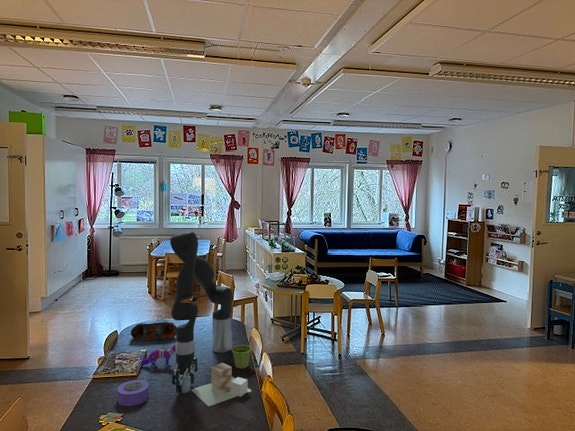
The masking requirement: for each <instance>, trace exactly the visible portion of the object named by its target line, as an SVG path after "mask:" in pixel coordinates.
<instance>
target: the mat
mask: <svg viewBox="0 0 575 431" xmlns="http://www.w3.org/2000/svg"><path fill="white" fill-rule="evenodd" d="M234 379H236V378H235V377H234V375H233V376H232V379H231V381H233V380H234ZM190 391H191V392H193V393H194V394H195V395H196V396H197V397H198V398H199V399H200V400H201V401H202V402H203V403H205V405H206V406H208V407H211V406H214V405H217V404H220V403H222V402H226V401H229V400H230V399H233V398H236V397H238V396H237V395H233V394H231V391H230V392H227V393H224V394H221V395H217V394H216V393H215V392H214V391H213V390H212V382H210V383H207V384H205V385H200V386H198V387H195V388H191V390H190ZM250 392H252V389H250V388H248V391H247V392H246V393H245V394H247V393H250Z"/></svg>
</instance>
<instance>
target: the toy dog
mask: <svg viewBox="0 0 575 431" xmlns="http://www.w3.org/2000/svg"><path fill="white" fill-rule="evenodd" d="M175 353H176V343H174V344H173V346H172V347H170V348H169V349H168V348H167V349H155V350H153V351H152V352H150V354H149V355H148V357H146V358H145V359H142V360H141V362H140V363H141V365H146V366H147V365H148V364H150V363H151V365H153V366H154V368H158V366H157V365H156V362H157V360H159V358H160V359H165V364H166V365H167V367H169V368H170V367H171V365H169V364H170V363H169V361H170V359H171V357H172V356H173V354H175Z"/></svg>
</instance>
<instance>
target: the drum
mask: <svg viewBox="0 0 575 431" xmlns="http://www.w3.org/2000/svg"><path fill="white" fill-rule="evenodd" d="M180 376H183V375H180ZM179 381H180V378H179ZM181 384H182V392H181V393H180V394H188V393H189V392H191V391H192V390H191V389H192V388H191V385H192V384H191V380H190V375H189V374H187V375H186V376H185V378H184V379H183V381H182V383H181Z"/></svg>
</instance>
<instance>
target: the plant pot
mask: <svg viewBox="0 0 575 431" xmlns="http://www.w3.org/2000/svg"><path fill="white" fill-rule="evenodd" d="M230 351H231V352H232V355H233V360H234V367H235V368H237V369H246V368H247V367H249V361H250V354H251V351H252V347H251V346H250V345H246V344H238V345H234V346H232V349H230Z"/></svg>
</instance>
